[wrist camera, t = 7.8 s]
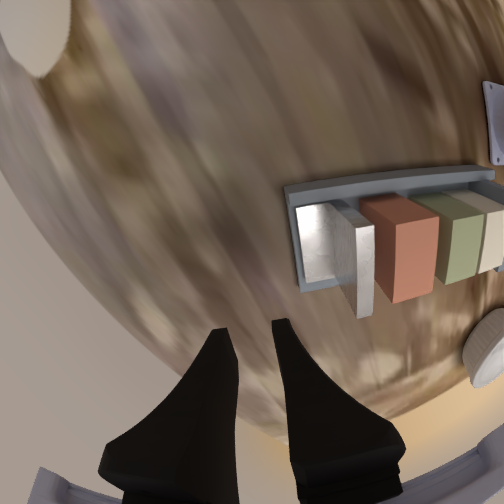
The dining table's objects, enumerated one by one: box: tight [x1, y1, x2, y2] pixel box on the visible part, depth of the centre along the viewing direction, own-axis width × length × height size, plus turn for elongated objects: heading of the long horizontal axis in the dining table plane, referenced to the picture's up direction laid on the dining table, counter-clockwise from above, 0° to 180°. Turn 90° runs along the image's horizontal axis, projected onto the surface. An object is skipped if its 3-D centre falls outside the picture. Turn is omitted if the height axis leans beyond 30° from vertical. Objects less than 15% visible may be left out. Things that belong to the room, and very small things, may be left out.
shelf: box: [284, 165, 504, 293], centre depth 17 cm, size 18×8×6 cm, turn 101°
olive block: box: [408, 192, 484, 285], centre depth 16 cm, size 3×4×6 cm
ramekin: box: [462, 308, 504, 388], centre depth 24 cm, size 11×11×5 cm
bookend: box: [295, 198, 375, 319], centre depth 16 cm, size 3×6×6 cm, turn 11°
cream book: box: [442, 189, 504, 274], centre depth 16 cm, size 3×4×6 cm
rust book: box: [359, 193, 439, 304], centre depth 16 cm, size 3×5×6 cm, turn 12°
